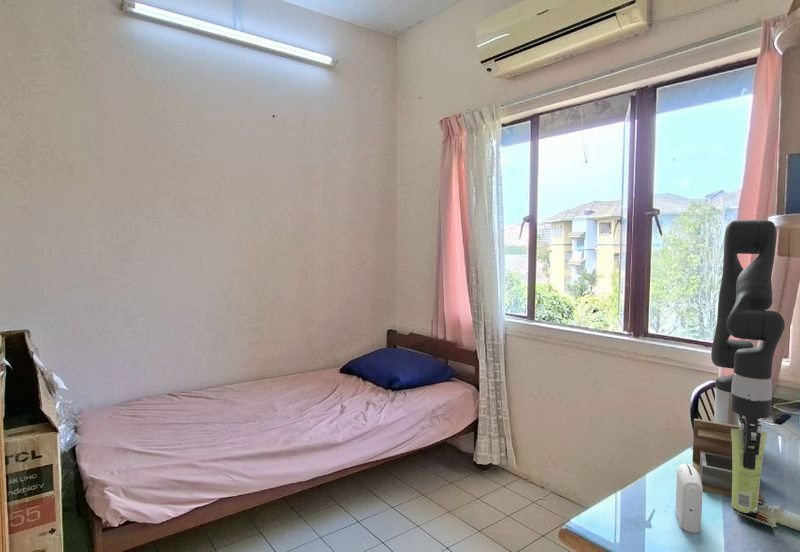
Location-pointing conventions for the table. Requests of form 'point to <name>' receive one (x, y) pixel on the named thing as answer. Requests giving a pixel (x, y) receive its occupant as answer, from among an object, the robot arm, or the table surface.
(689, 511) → the photo printer
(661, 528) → the table surface
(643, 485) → the table surface
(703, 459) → the wall rack
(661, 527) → the table surface
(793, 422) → the table surface
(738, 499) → the tube
